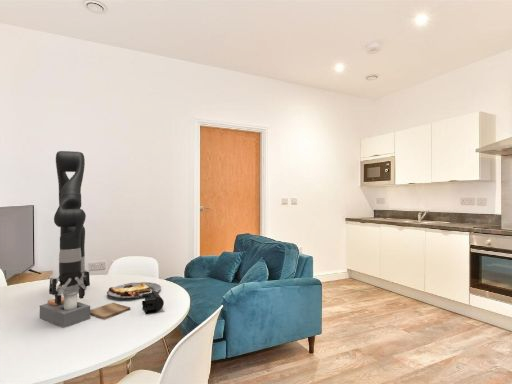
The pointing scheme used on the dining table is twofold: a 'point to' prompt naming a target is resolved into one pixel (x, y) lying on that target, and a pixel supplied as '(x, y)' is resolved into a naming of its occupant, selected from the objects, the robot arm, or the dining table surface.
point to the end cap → (152, 302)
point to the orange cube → (54, 301)
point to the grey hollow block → (64, 314)
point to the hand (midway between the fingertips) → (70, 301)
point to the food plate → (133, 290)
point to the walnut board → (108, 310)
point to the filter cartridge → (70, 300)
